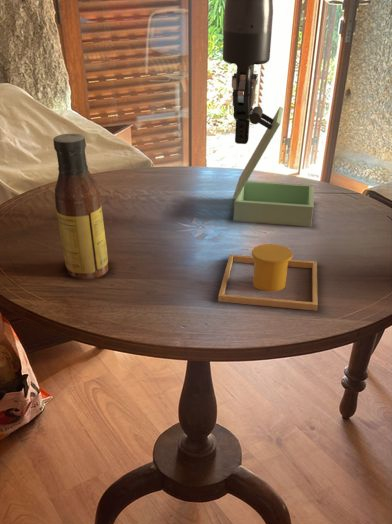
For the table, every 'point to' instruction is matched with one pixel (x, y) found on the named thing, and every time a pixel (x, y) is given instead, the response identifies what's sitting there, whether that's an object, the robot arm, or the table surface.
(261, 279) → the cylinder
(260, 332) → the table surface
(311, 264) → the tray
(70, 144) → the sauce bottle
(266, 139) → the lid
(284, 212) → the green storage bin
